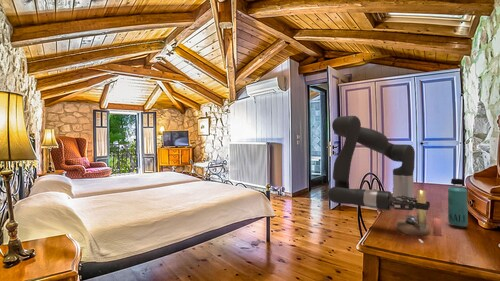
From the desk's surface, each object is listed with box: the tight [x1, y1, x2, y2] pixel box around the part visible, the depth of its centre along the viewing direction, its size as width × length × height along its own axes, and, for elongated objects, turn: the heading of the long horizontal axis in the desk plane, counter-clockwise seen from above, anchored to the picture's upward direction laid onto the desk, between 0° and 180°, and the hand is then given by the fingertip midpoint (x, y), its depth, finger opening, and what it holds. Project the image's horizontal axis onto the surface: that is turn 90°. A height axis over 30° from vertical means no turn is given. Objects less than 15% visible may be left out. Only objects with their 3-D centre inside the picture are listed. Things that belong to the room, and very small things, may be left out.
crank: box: [404, 189, 427, 230], centre depth 99 cm, size 12×5×15 cm, turn 168°
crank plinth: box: [396, 218, 431, 237], centre depth 102 cm, size 11×11×3 cm
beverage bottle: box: [447, 178, 469, 227], centre depth 104 cm, size 6×7×20 cm
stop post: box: [433, 217, 442, 237], centre depth 97 cm, size 2×2×6 cm
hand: (428, 205), depth 93 cm, fingers open, 3 cm apart
